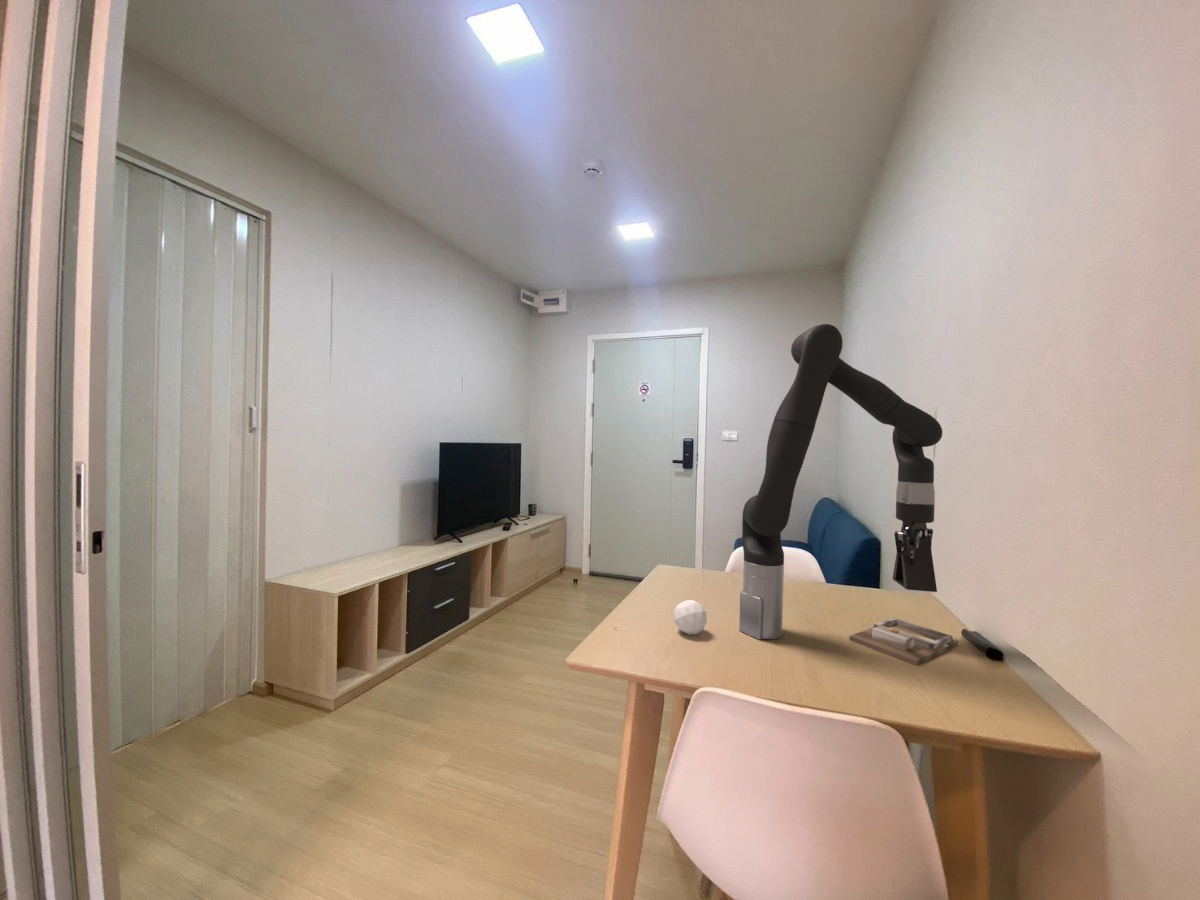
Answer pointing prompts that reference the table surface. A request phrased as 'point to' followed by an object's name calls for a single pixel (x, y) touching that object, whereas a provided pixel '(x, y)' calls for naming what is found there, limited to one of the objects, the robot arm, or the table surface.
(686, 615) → the geometric ball
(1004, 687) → the table surface
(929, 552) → the black tent sign
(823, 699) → the table surface
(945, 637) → the mouse trap
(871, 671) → the table surface
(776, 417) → the robot arm
